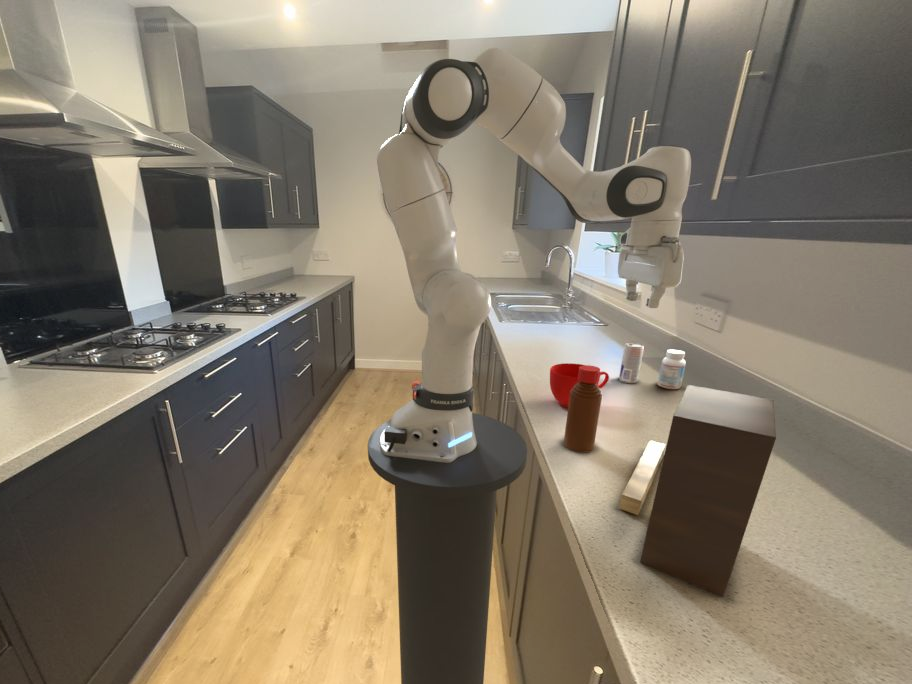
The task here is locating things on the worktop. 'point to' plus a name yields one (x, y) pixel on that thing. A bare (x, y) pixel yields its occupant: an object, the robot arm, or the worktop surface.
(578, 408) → the bottle
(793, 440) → the worktop surface
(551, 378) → the ceramic cup
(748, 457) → the pedestal
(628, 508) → the bar
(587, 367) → the cap
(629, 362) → the energy drink
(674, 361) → the pill bottle
